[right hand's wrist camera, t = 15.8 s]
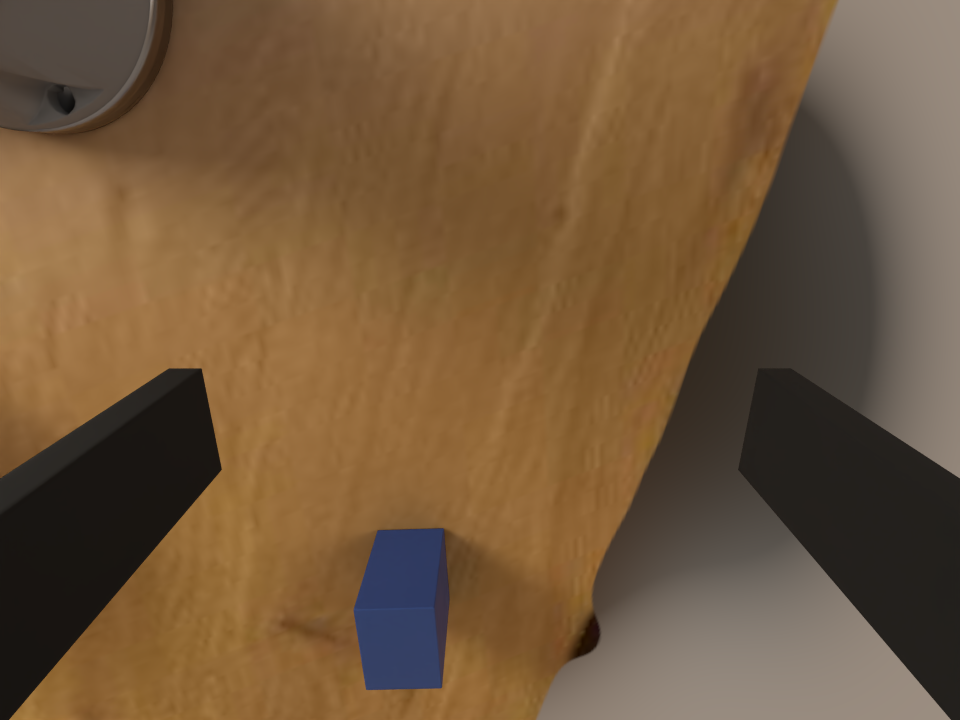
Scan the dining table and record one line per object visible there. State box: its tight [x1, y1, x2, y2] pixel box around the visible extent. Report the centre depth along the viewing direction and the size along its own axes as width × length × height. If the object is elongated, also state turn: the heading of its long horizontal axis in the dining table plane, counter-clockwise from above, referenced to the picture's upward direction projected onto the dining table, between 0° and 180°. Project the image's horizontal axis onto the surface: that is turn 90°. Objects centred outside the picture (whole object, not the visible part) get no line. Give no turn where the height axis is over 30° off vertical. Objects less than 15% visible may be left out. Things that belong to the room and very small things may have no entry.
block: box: [354, 528, 449, 690], centre depth 35 cm, size 5×6×7 cm
